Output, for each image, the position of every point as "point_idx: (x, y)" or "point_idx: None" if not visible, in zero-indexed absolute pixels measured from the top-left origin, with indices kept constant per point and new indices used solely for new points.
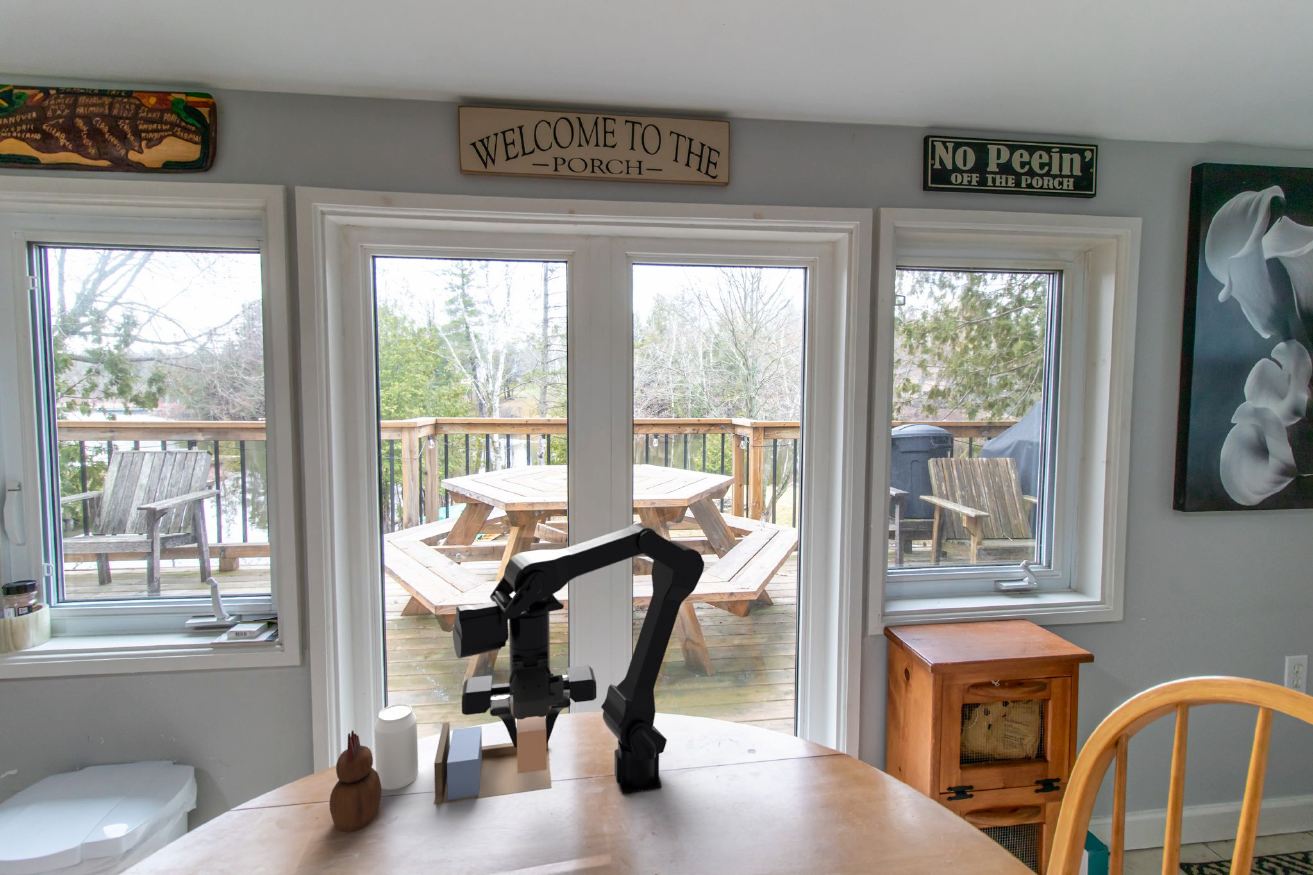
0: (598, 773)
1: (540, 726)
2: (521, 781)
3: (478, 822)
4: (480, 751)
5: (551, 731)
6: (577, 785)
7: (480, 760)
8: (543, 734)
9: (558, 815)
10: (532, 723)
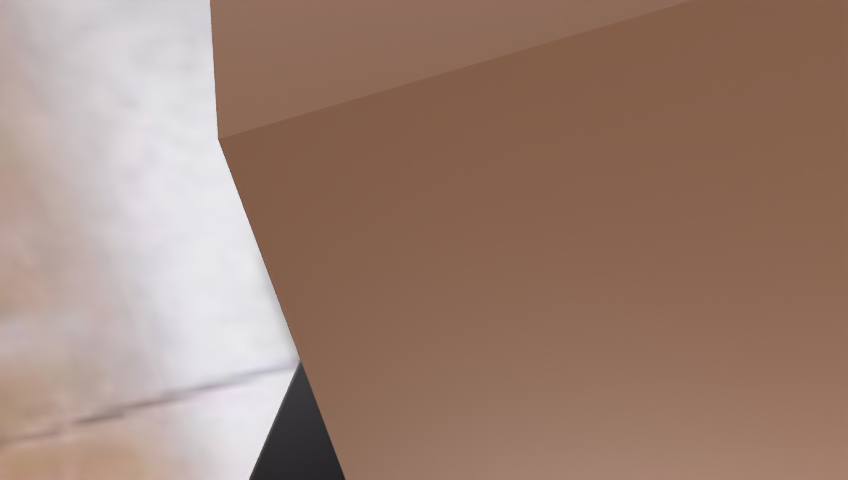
0: (51, 452)
1: (499, 281)
2: None
3: None
4: None
5: (255, 475)
6: (148, 350)
7: None
8: (311, 54)
9: (190, 113)
10: (752, 397)
